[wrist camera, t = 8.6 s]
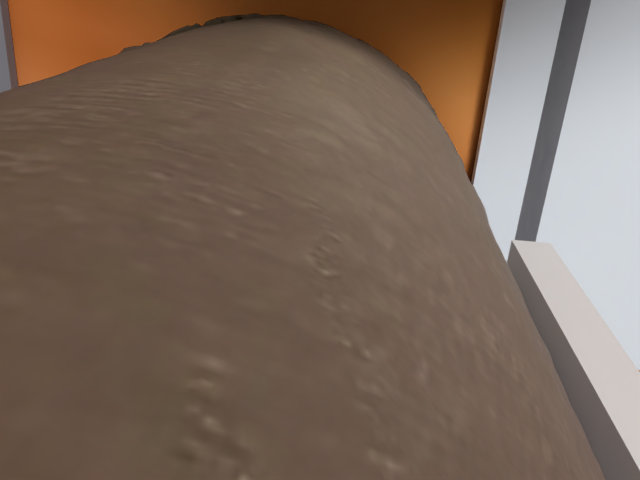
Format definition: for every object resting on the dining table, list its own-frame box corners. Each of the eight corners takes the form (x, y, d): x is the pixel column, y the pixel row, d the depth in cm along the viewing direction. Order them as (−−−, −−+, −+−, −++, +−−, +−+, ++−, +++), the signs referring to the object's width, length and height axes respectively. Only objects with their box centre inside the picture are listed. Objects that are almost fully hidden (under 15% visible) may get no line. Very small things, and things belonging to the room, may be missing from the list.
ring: (-27, -89, 13) (-36, -90, 13) (595, -42, 12) (600, -42, 12) (42, 407, 18) (37, 414, 18) (483, 452, 18) (484, 460, 17)
